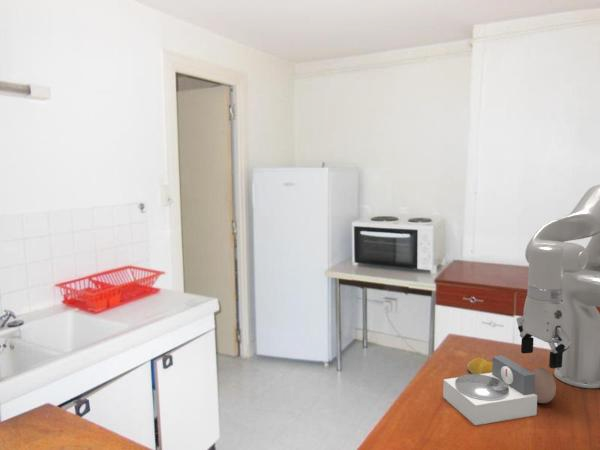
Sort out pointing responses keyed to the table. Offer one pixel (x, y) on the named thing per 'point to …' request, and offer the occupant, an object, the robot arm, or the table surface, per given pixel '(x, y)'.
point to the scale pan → (482, 387)
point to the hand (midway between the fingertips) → (540, 359)
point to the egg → (544, 385)
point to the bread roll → (480, 366)
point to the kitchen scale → (511, 407)
